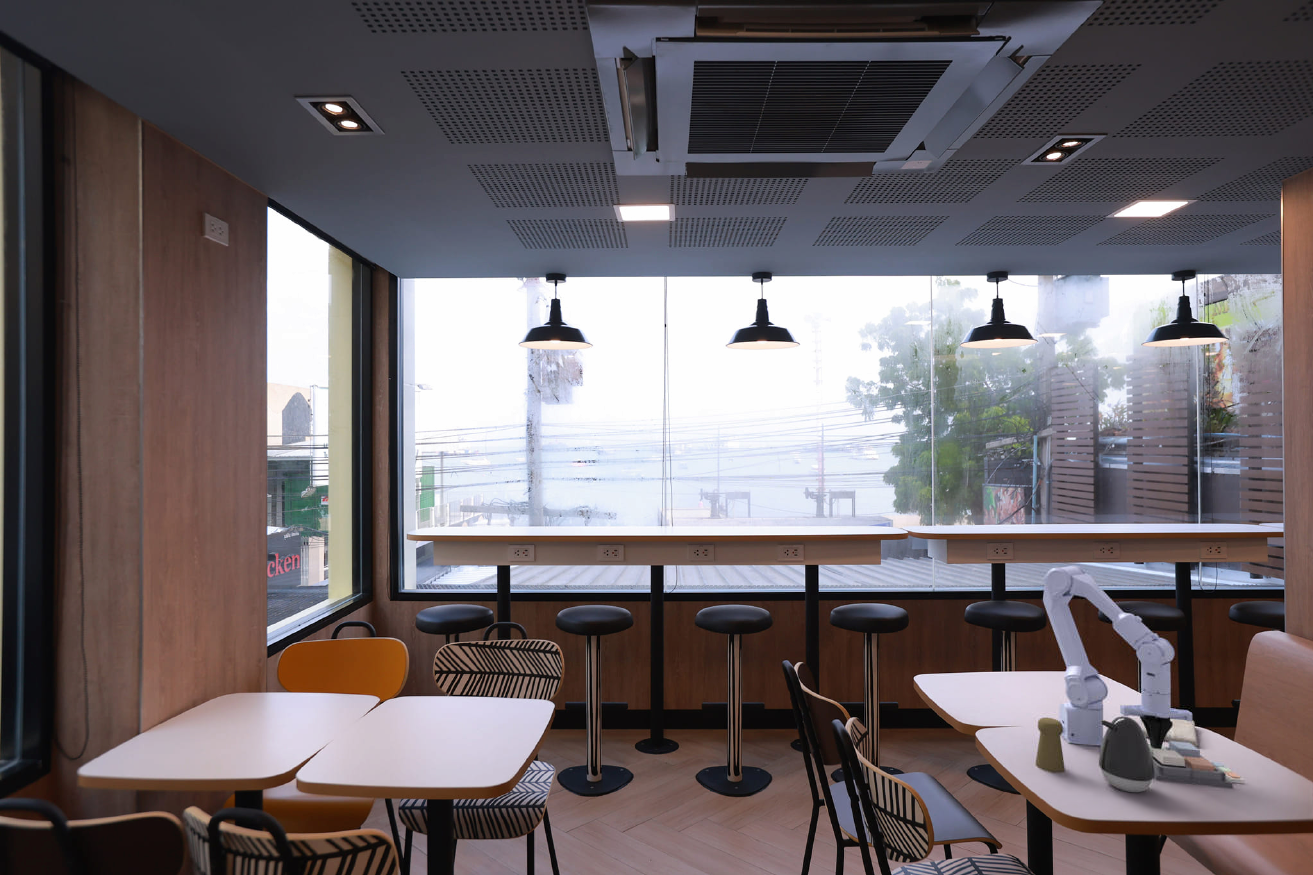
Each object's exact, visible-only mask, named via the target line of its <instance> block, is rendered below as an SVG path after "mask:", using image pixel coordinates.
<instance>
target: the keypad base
mask: <svg viewBox="0 0 1313 875" xmlns="http://www.w3.org/2000/svg"><path fill="white" fill-rule="evenodd" d="M1163 747H1164V748H1166V749H1167V750H1170V749H1169V746H1163ZM1200 758H1204V759H1206V758H1205V757H1204V756H1202V755H1201V754H1200ZM1152 759H1153V765H1154V779H1155V780H1156V781H1162V782H1163V781H1164V782H1171V783H1172V782H1173V783H1182V784H1193V785H1203V786H1213V787H1223V788H1231V789H1232V788H1233V786H1234V782H1231V781H1229V780H1228V779H1227V778H1226V773H1224V772H1223V771H1221V770H1220V769H1219V768H1217V767H1216V766H1215V765H1214V766H1215V771H1208V770H1198V769H1192V768H1190V767H1189V766H1188V765H1186V764H1185V766H1176V765H1166V764H1162V763H1161V762H1160V761H1158V760H1157V759H1156V758H1155V757H1154V756H1153V755H1152ZM1206 760H1207V761H1208V762H1210V763H1211V762H1212V761H1209V760H1208V759H1206ZM1211 764H1212V763H1211ZM1212 765H1213V764H1212Z"/></svg>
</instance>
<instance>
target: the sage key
mask: <svg viewBox="0 0 1313 875" xmlns="http://www.w3.org/2000/svg"><path fill="white" fill-rule="evenodd" d="M1148 744H1149V747H1150V751H1151V754H1152V755H1153V749H1154V748H1152V747H1151V745H1150V743H1148ZM1164 747H1165V746H1163V745H1162V748H1161V749H1164V750H1167V749H1166V748H1164Z"/></svg>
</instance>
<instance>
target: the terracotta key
mask: <svg viewBox="0 0 1313 875" xmlns="http://www.w3.org/2000/svg"><path fill="white" fill-rule="evenodd" d="M1182 757H1184V758H1185V764H1186V765H1188V766H1189V767H1190V768H1192V769H1198V770H1208V771H1215V766H1214V765H1212V764H1211V763H1210V762H1211V761H1209V760H1208V759H1207V760H1208V761H1209V762H1208V761H1207V760H1206V758H1205V757H1204V758H1205V759H1204V758H1197V757H1186V756H1182Z"/></svg>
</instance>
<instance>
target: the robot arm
mask: <svg viewBox="0 0 1313 875" xmlns="http://www.w3.org/2000/svg"><path fill="white" fill-rule="evenodd" d="M1042 581H1043V583H1044V588H1043V598H1042V602H1043V605H1044V607H1045V610H1046V613H1047V616H1048V619H1049V621H1050V624H1051V627H1052V630H1053V632H1054V636H1055V638H1056V642H1057V644H1058V647H1059V650H1060V652H1061V655H1062V658H1063V660H1064V661H1063V662H1064V663H1065V667H1066V670H1065V672H1064V677H1063V678H1064V682H1065V694H1066V698H1067V699H1068V700H1069V701H1070V702H1062V703H1060V705H1059V710H1058V711H1059V712H1058V717H1059V718H1058V719H1059V720H1058V721H1059V722H1061V724H1062V726H1063V732H1062V734H1061V735H1060V736H1062V737H1063V738H1064V739H1065V741H1066V742H1068V744H1074V745H1075V744H1076V745H1086V746H1097V747H1098V746H1099V747H1101V745H1102V741H1103V738H1104V725H1102V724H1101V721H1102V720H1104V703H1103V702H1104V700H1105V699H1107V696H1108V695H1109V689H1108V686H1107V684H1106V683H1105V681H1104V680H1103V679H1102V678H1101V676H1100V674H1099V672H1098V670H1097V669H1096V668H1095V667H1093V666H1092V665H1091V664H1090V662H1089V658H1088V656H1087V653H1086V651H1085V647H1084V644H1083V642H1082V639H1081V637H1080V634H1079V631H1078V628H1077V626H1076V623H1075V621H1074V618H1073V614H1072V612H1071V610H1070V607H1069V602H1070V601H1071V599H1073V597H1074V596H1078V597H1083V598H1086V599H1087V600H1088V601H1089V602H1090V603H1092V605H1094V606H1095V607H1096V608H1098V610H1099V611H1101V612H1102V613H1103V614H1104V615H1105V616H1106V617H1107V618H1109V620H1110V621H1112V628H1113V629H1114V631H1116V632H1117V634H1119V636H1121V637H1122V638H1123V639H1124V641H1125V642H1127V643H1128V644H1129V645H1130V646H1131V647H1132V648H1133V649H1134V650H1136V652H1135V654H1136V657H1137V658H1138V660H1139V661H1140V663H1141V670H1140V672H1141V674H1140V675H1141V677H1140V678H1141V680H1140V682H1141V684H1140V686H1141V688H1140V691H1141V693H1140V694H1141V695H1140V699H1141V700H1140V702H1141V703H1140V704H1135V705H1134V704H1133V705H1130V704H1129V705H1123V704H1122V705H1121V704H1119V705H1120V711H1119V712H1120V714H1121V715H1122V716H1124V717H1129V716H1131V717H1132V716H1133V717H1139V719H1140V721H1141V723H1142V722H1143V724H1144V726H1145V728H1146V731H1147V734H1148V737H1149V738H1148V740H1149V744H1150V745H1151V747H1152V748H1154V749H1161V748H1162V746H1163V743H1164V742H1165V741H1164V739H1165V736H1166V735H1167V733H1168V731H1169V730H1170V729H1171V728H1172V726H1173V722H1172V721H1170V719H1178V720H1186V721H1191V722H1192V721H1193V713H1192V712H1190V711H1189V710H1187V709H1186V710H1185V709H1178V708H1177V709H1176V708H1171V702H1172V701H1171V687H1172V686H1171V685H1172V684H1171V662H1172V661H1173V659H1174V657H1175V649H1174V647H1173V646H1172V644H1171V643H1170V642H1169V640H1167V639H1165V638H1163V637H1160V636H1159V635H1158V633H1154V632H1153V631H1151V630H1150V628H1149V627H1148V626H1146V625H1145V624H1144V623H1143V622H1142V621H1143V619H1142V617H1140V616H1139V615H1136V616H1135V614H1133V613H1127V612H1124V611H1123V609H1121V608H1120V607H1119V606H1118V604H1116V603H1115V602H1114V600H1112V598H1110V596H1108V594H1107V593H1106V592H1105V591H1104V590H1103V589H1102V588H1101V587H1100V586H1099V585H1098V584H1097V583H1096V582H1095V580H1094V579H1093V577H1092V576H1091V575H1090V574H1088V573H1086V571H1085V570H1084V569H1083V568H1082V567H1080V566H1078V565H1068V566H1064V567H1063V566H1062V567H1052V568H1050V569H1049V570H1048V571H1047V573H1046V574H1045V575H1044V577H1043V578H1042Z"/></svg>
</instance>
